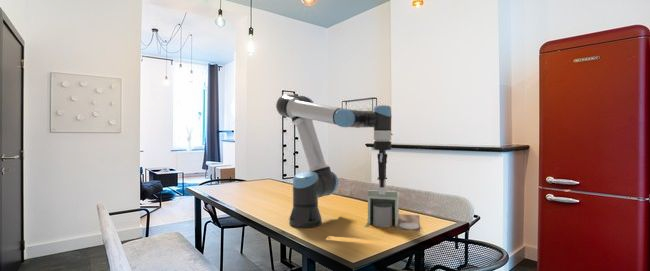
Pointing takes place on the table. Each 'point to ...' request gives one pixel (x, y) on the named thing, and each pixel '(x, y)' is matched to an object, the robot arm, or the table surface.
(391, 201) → the hood
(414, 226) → the coaster
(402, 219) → the board
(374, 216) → the cup
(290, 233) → the table surface
